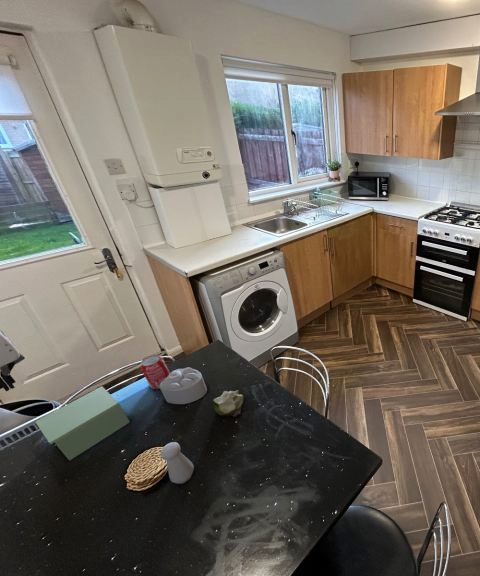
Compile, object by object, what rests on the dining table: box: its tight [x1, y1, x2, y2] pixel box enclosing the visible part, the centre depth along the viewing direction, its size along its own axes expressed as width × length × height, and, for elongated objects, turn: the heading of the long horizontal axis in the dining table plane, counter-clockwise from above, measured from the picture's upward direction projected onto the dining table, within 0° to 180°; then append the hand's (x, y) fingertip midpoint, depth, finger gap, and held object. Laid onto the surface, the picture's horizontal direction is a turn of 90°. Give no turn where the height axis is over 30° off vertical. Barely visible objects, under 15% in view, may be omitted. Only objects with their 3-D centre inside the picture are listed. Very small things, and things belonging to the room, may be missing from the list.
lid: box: [34, 386, 120, 445], centre depth 95 cm, size 16×13×1 cm
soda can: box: [140, 354, 171, 390], centre depth 114 cm, size 7×7×12 cm
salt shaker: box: [160, 441, 195, 485], centre depth 84 cm, size 6×6×13 cm
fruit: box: [208, 389, 244, 418], centre depth 106 cm, size 9×9×8 cm
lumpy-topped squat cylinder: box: [159, 367, 208, 405], centre depth 111 cm, size 10×13×9 cm
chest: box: [54, 403, 131, 461], centre depth 97 cm, size 16×13×9 cm
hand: (9, 387), depth 81 cm, fingers closed
